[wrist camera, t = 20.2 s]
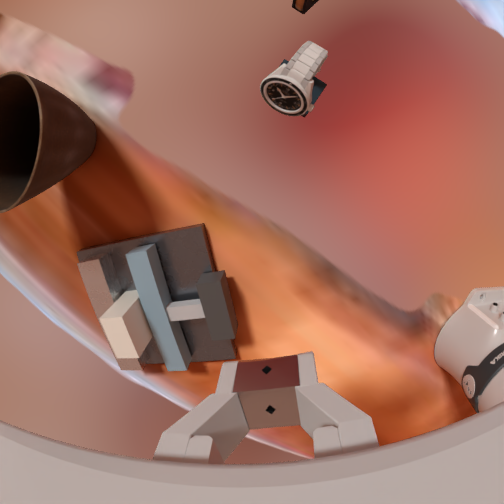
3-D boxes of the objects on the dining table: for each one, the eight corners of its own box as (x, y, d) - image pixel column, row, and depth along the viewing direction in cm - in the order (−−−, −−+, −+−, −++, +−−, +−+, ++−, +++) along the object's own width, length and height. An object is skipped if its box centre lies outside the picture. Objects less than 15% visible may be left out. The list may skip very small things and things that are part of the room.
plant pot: (49, 90, 33) (-27, 81, 18) (129, 87, 33) (54, 62, 18) (38, 184, 38) (-37, 204, 23) (113, 195, 38) (36, 223, 23)
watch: (256, 106, 33) (248, 87, 23) (291, 56, 31) (296, 20, 21) (296, 131, 34) (305, 121, 24) (330, 79, 32) (352, 52, 21)
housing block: (146, 288, 40) (121, 316, 33) (159, 325, 42) (139, 358, 35) (125, 291, 41) (99, 318, 33) (139, 327, 43) (116, 358, 35)
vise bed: (203, 223, 38) (195, 232, 34) (236, 352, 44) (233, 371, 40) (81, 249, 41) (65, 258, 37) (124, 358, 47) (113, 374, 43)
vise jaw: (215, 232, 37) (210, 239, 34) (245, 353, 42) (243, 368, 39) (135, 247, 38) (123, 255, 35) (173, 358, 44) (167, 372, 40)
